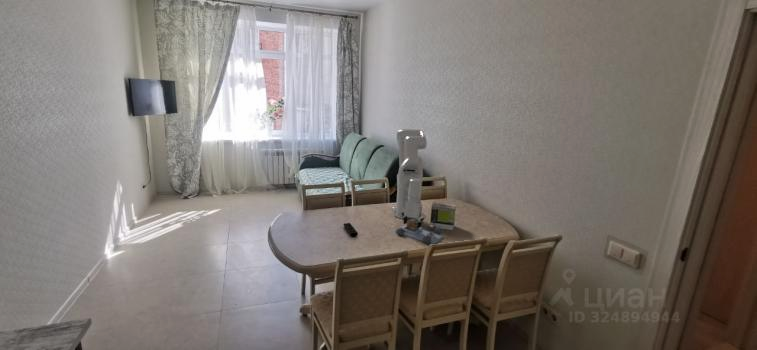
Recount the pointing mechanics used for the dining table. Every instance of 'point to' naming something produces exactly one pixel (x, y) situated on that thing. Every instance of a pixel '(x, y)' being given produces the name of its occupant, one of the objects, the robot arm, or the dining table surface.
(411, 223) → the engine block
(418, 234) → the chassis
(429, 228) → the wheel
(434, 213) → the retro computer monitor
